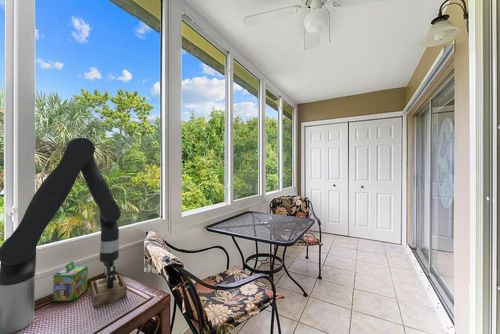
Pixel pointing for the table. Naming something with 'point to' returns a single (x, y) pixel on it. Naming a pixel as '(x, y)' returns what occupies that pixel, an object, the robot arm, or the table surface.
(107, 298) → the walnut crate
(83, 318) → the table surface
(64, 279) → the chalk box
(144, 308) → the table surface
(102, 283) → the pine crate
